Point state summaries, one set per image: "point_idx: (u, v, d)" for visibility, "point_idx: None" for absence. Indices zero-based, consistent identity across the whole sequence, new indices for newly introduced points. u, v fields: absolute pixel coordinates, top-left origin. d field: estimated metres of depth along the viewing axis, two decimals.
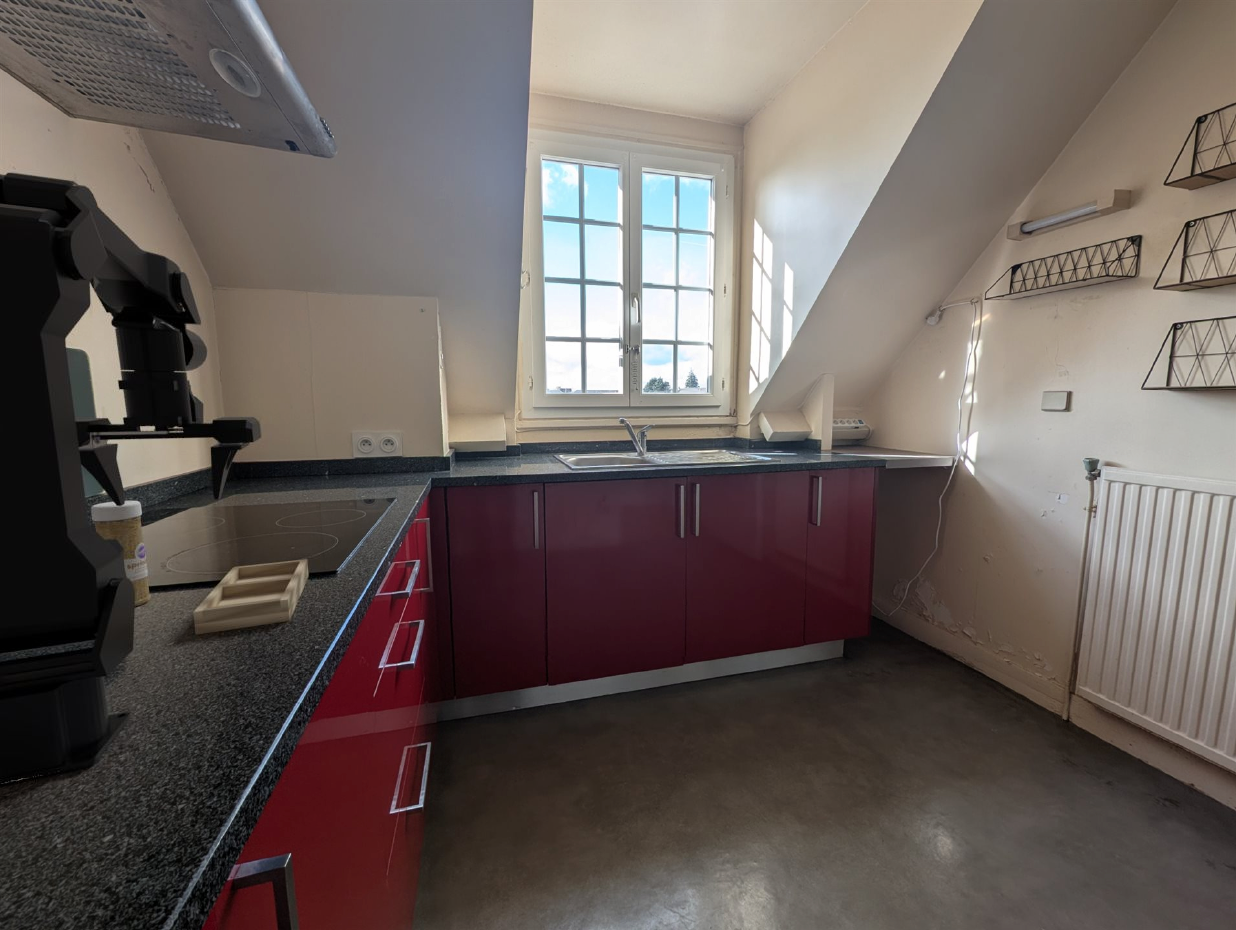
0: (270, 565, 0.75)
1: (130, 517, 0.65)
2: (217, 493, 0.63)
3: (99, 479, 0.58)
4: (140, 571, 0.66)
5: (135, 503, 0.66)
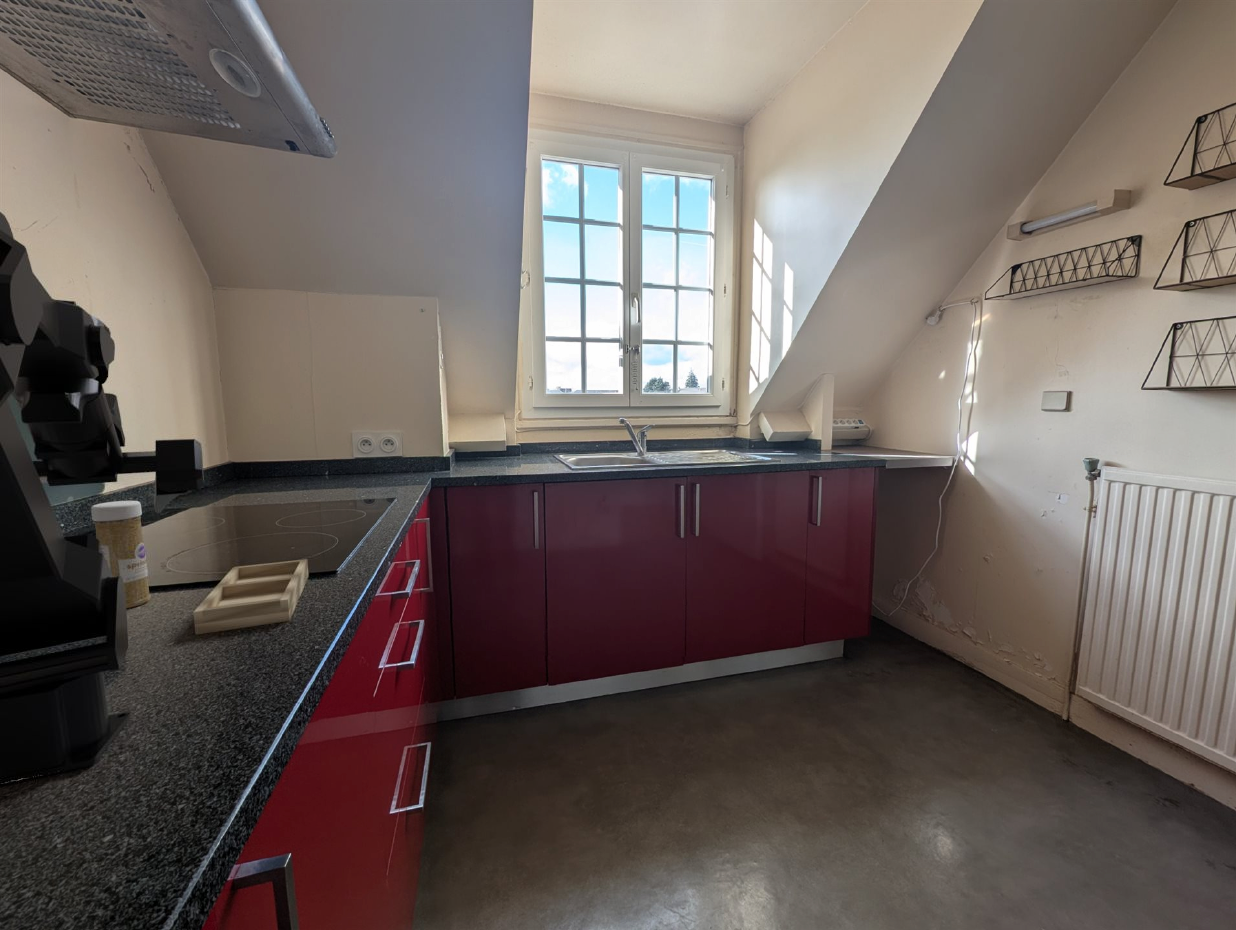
0: (270, 565, 0.75)
1: (130, 517, 0.65)
2: (159, 510, 0.61)
3: None
4: (140, 571, 0.66)
5: (135, 503, 0.66)
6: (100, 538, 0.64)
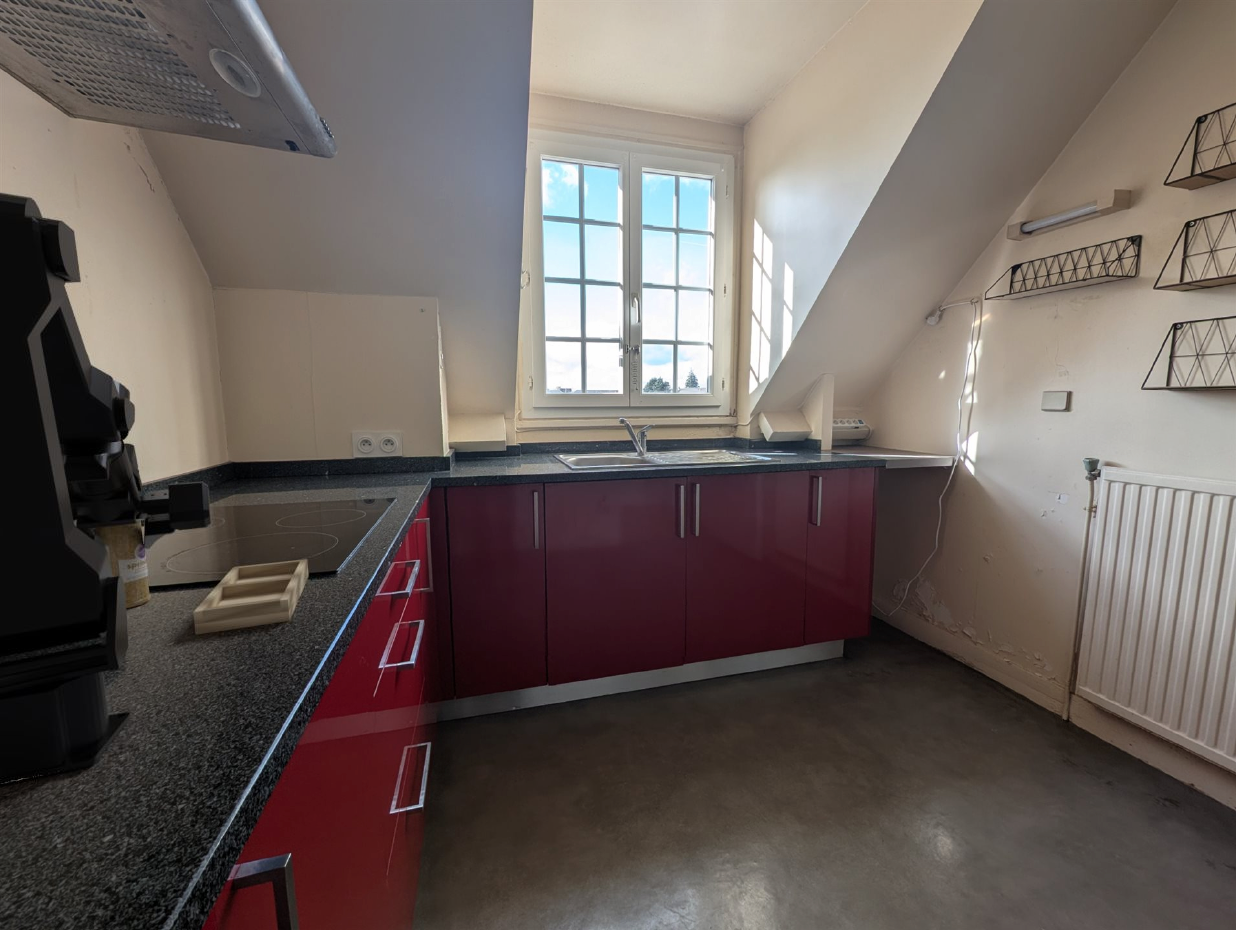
0: (270, 565, 0.75)
1: None
2: (148, 547, 0.68)
3: None
4: (140, 571, 0.66)
5: None
6: None
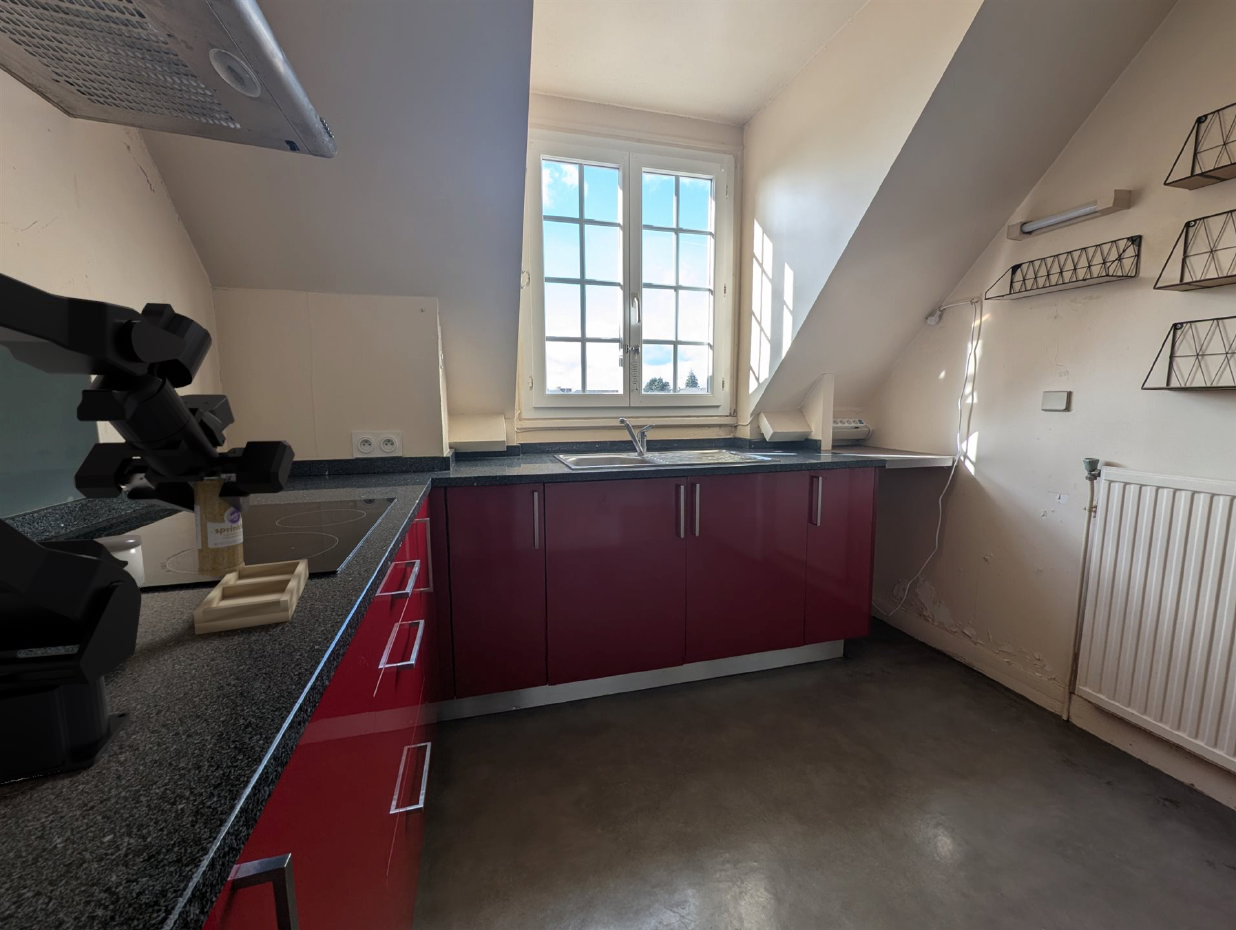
0: (270, 565, 0.75)
1: (221, 477, 0.59)
2: (243, 511, 0.61)
3: (174, 507, 0.58)
4: (229, 537, 0.60)
5: None
6: (194, 496, 0.59)
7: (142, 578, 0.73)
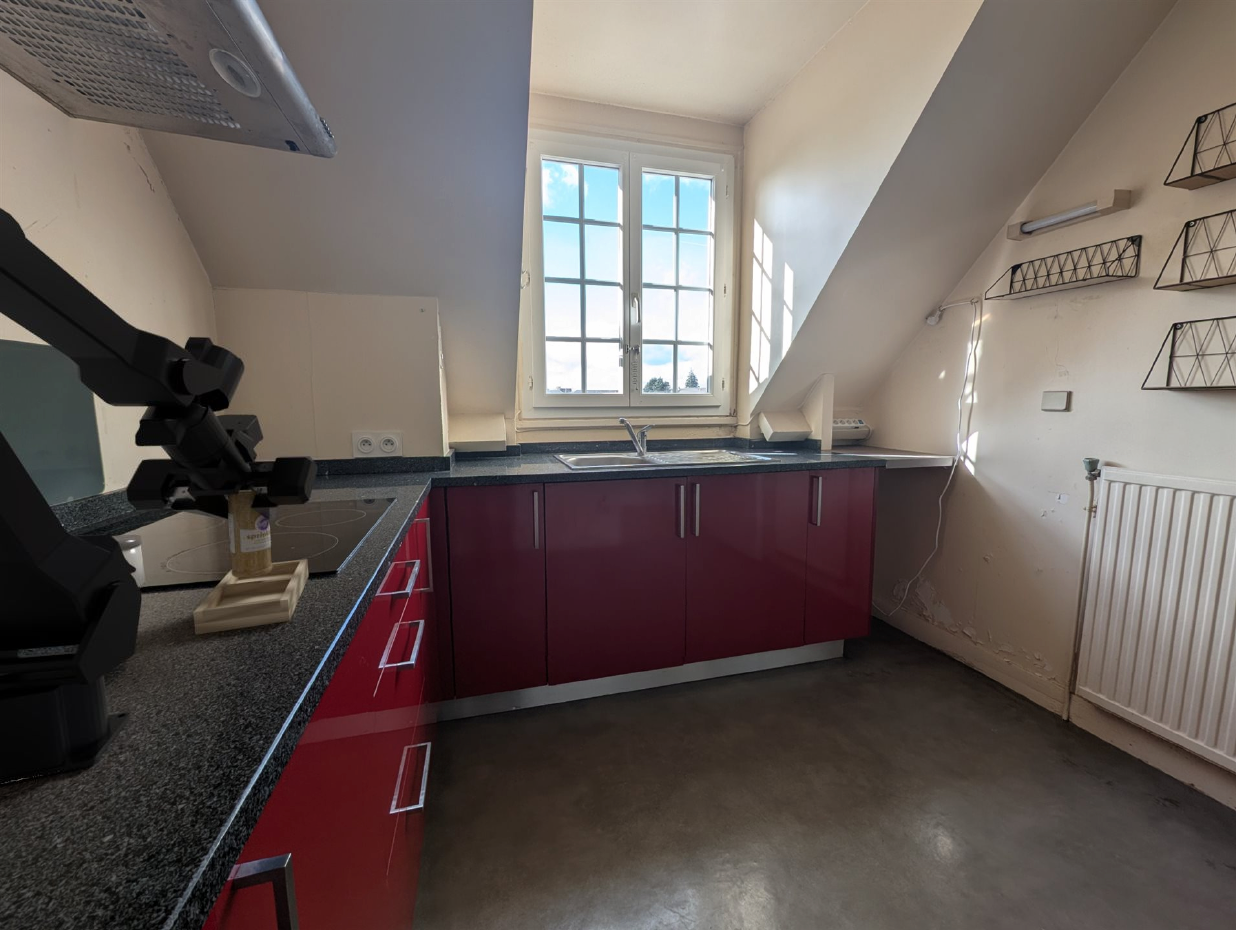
0: None
1: None
2: (271, 519, 0.68)
3: (210, 516, 0.64)
4: (259, 542, 0.67)
5: None
6: (228, 506, 0.66)
7: (142, 578, 0.73)
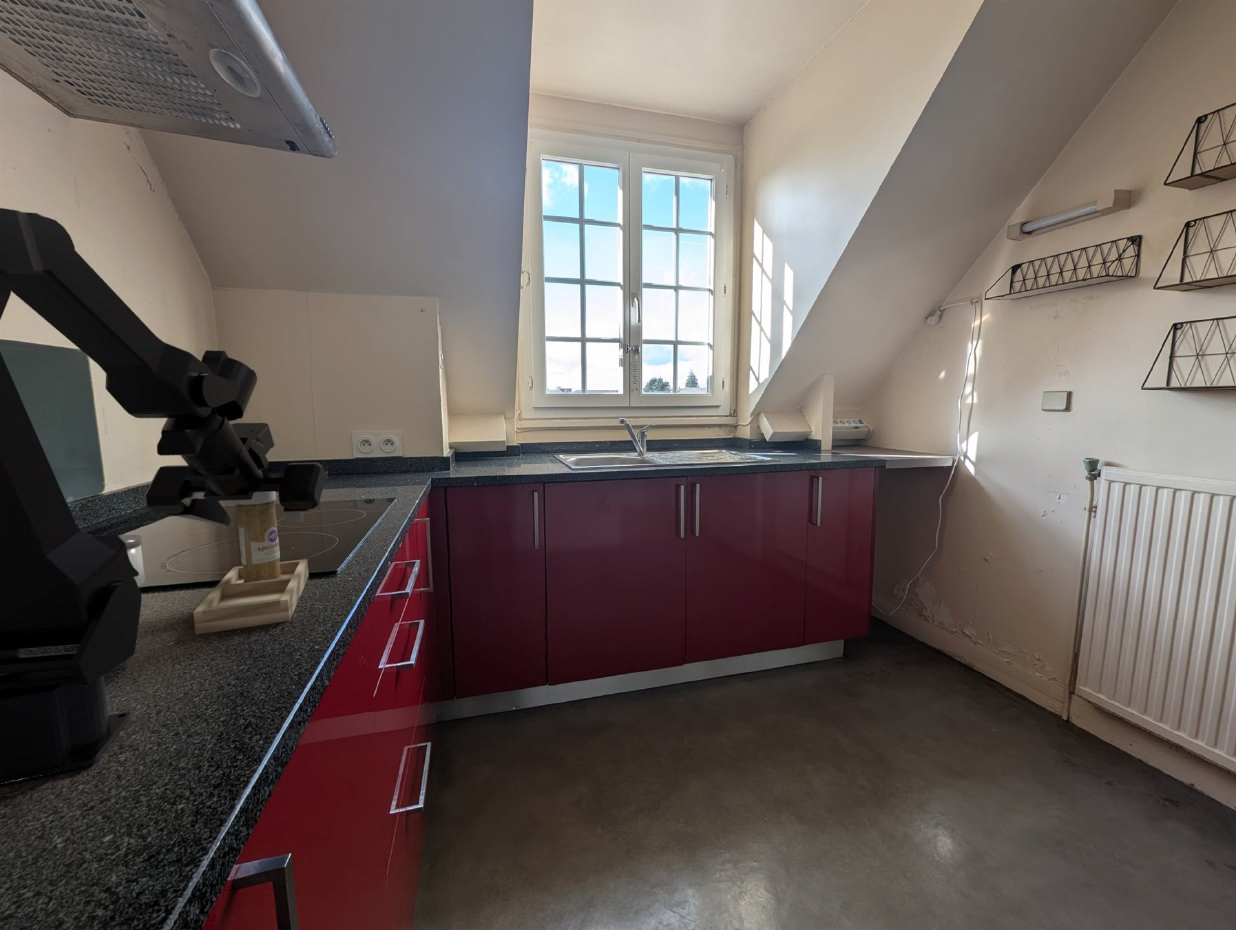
0: None
1: (261, 503, 0.68)
2: (300, 522, 0.72)
3: (204, 521, 0.67)
4: (269, 554, 0.70)
5: None
6: (239, 520, 0.68)
7: (142, 578, 0.73)
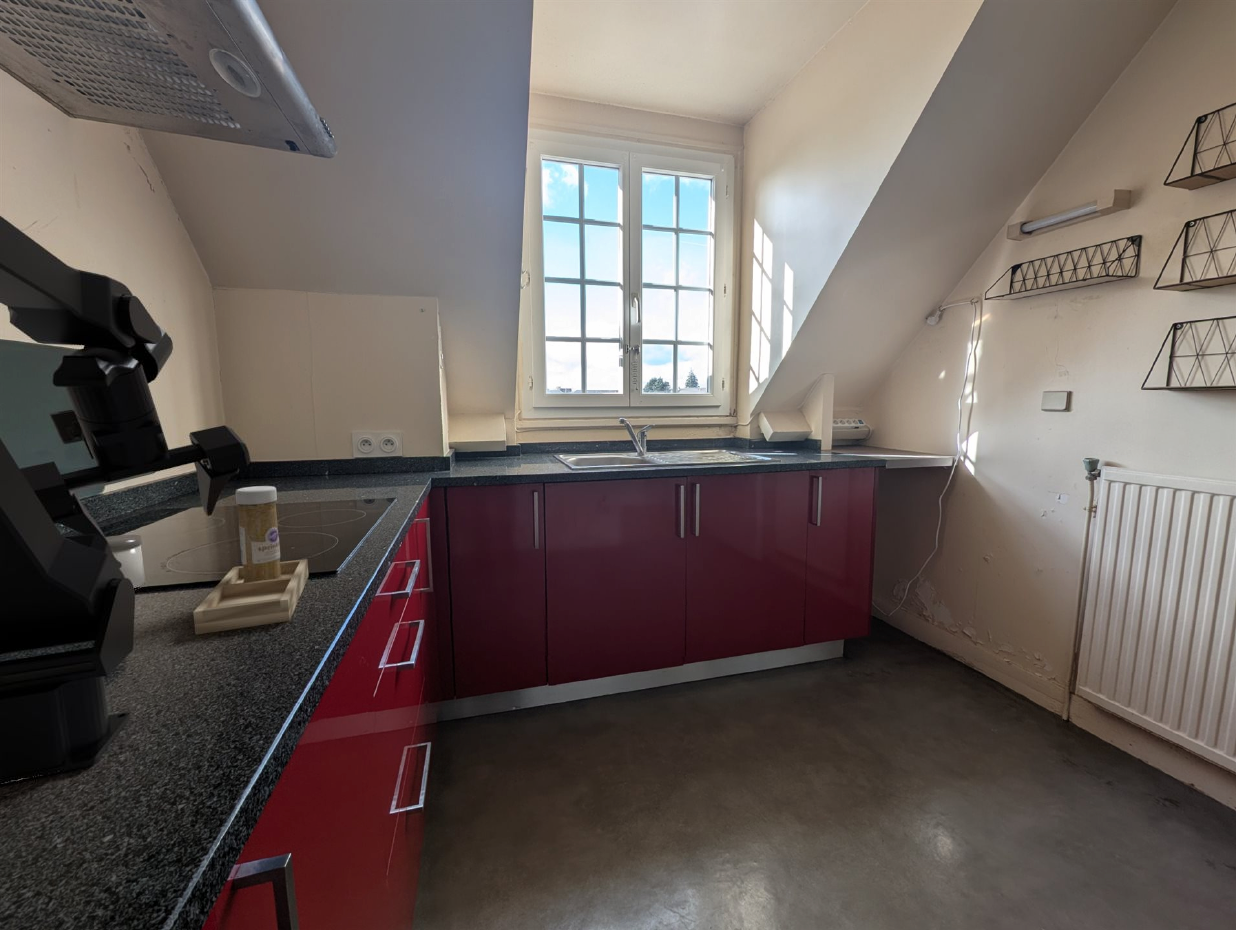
0: None
1: (262, 503, 0.68)
2: (211, 511, 0.61)
3: (88, 533, 0.52)
4: (270, 554, 0.70)
5: (268, 489, 0.69)
6: (240, 520, 0.68)
7: (142, 578, 0.73)
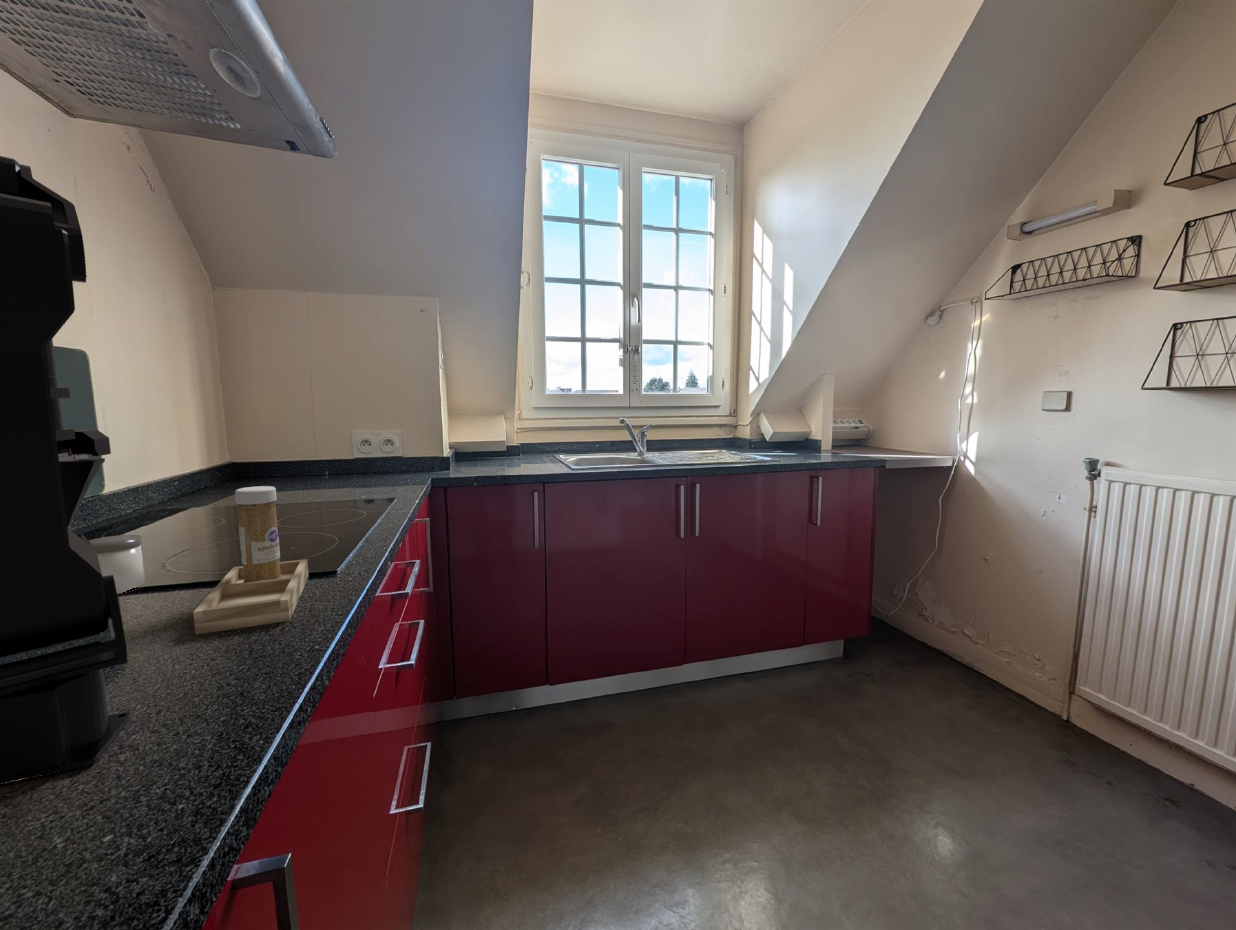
0: None
1: (262, 503, 0.68)
2: (72, 518, 0.55)
3: None
4: (270, 554, 0.70)
5: (268, 489, 0.69)
6: (239, 520, 0.68)
7: (142, 578, 0.73)
